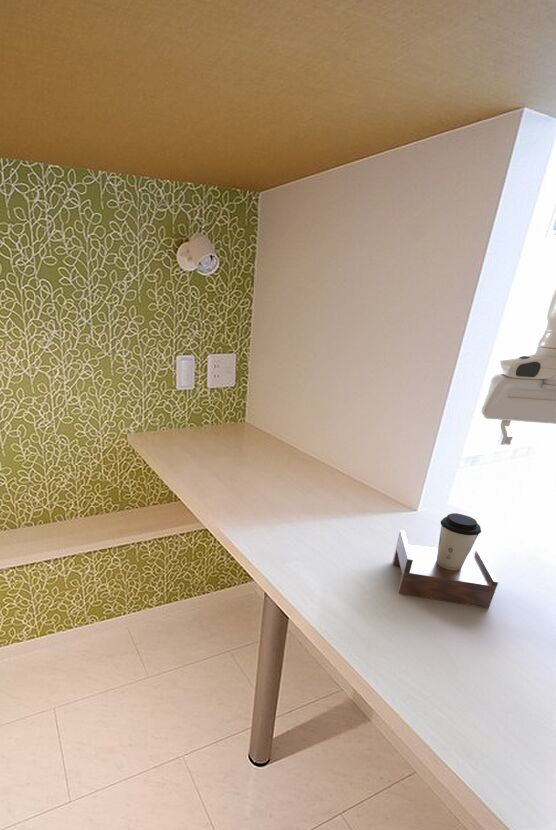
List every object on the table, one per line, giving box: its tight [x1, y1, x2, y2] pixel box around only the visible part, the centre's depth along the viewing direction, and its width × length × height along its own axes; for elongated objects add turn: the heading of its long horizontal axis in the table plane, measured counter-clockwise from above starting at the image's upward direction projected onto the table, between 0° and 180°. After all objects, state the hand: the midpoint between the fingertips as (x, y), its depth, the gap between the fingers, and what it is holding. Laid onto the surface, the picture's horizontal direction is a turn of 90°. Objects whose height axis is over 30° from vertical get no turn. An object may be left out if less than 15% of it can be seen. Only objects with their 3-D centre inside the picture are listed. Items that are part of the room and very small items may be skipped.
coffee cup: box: [436, 512, 482, 570], centre depth 85 cm, size 7×7×10 cm
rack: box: [392, 530, 499, 609], centre depth 88 cm, size 16×12×8 cm
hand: (533, 446), depth 78 cm, fingers open, 8 cm apart
